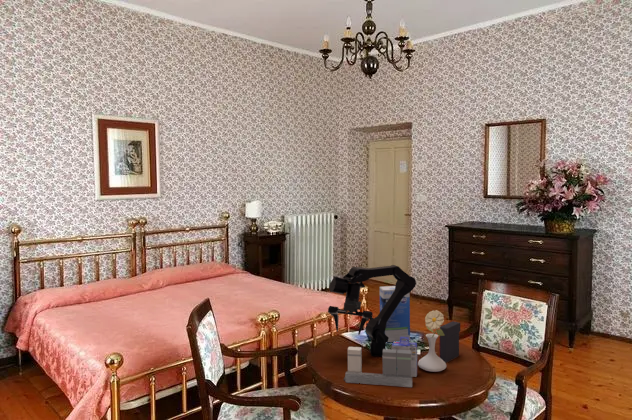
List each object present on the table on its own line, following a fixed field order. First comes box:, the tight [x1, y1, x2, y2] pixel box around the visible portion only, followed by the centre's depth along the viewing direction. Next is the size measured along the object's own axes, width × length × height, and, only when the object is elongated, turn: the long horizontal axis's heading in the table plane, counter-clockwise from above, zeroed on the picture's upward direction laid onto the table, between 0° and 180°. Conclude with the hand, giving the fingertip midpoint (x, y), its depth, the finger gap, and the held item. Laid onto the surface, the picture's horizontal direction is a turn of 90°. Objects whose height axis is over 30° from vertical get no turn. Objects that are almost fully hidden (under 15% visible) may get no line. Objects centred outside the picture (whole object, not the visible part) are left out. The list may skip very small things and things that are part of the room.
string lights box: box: [379, 285, 411, 342], centre depth 228 cm, size 13×8×26 cm, turn 97°
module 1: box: [347, 346, 363, 373], centre depth 185 cm, size 4×5×12 cm
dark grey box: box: [438, 320, 461, 364], centre depth 204 cm, size 11×4×15 cm, turn 134°
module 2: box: [381, 348, 396, 375], centre depth 182 cm, size 4×5×12 cm
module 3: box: [397, 350, 411, 376], centre depth 180 cm, size 4×5×12 cm
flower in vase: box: [417, 309, 447, 373], centre depth 192 cm, size 13×11×25 cm
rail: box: [343, 371, 413, 388], centre depth 182 cm, size 6×26×4 cm, turn 78°
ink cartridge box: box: [391, 337, 418, 378], centre depth 189 cm, size 10×6×14 cm, turn 78°
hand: (347, 333), depth 200 cm, fingers open, 9 cm apart
